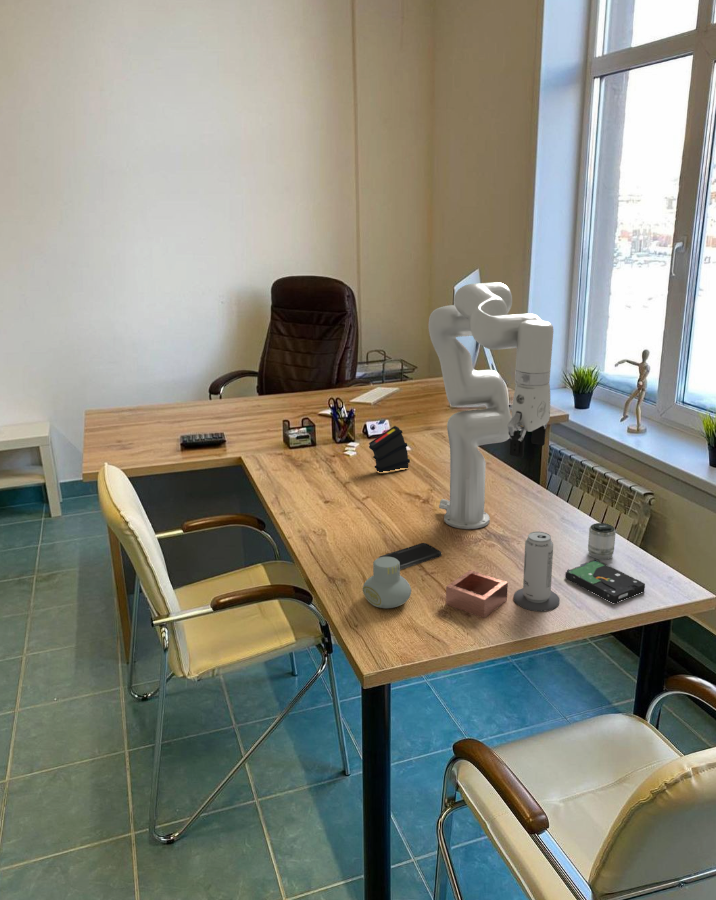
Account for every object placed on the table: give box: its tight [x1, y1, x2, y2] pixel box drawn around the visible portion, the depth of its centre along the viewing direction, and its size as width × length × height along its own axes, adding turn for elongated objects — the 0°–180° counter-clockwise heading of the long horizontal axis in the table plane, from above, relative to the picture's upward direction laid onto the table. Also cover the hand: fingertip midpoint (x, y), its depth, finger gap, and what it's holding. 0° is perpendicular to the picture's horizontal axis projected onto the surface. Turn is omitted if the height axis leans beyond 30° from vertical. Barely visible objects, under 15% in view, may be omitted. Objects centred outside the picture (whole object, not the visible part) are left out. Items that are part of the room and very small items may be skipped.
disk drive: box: [564, 559, 646, 604], centre depth 177 cm, size 10×3×15 cm
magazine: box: [368, 425, 411, 472], centre depth 252 cm, size 4×13×15 cm, turn 115°
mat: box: [513, 587, 561, 612], centre depth 171 cm, size 10×10×1 cm
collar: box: [445, 569, 509, 619], centre depth 170 cm, size 10×10×4 cm
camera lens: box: [587, 522, 617, 561], centre depth 190 cm, size 6×6×8 cm
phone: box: [378, 542, 442, 571], centre depth 193 cm, size 8×1×15 cm
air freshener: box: [362, 556, 412, 609], centre depth 170 cm, size 11×8×10 cm
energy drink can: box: [522, 531, 554, 603], centre depth 169 cm, size 6×6×15 cm
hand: (527, 450), depth 175 cm, fingers open, 9 cm apart
